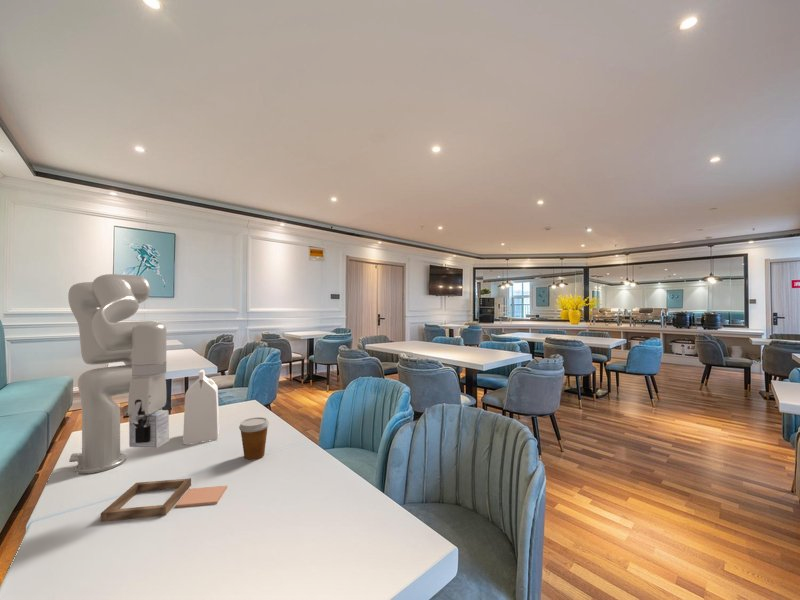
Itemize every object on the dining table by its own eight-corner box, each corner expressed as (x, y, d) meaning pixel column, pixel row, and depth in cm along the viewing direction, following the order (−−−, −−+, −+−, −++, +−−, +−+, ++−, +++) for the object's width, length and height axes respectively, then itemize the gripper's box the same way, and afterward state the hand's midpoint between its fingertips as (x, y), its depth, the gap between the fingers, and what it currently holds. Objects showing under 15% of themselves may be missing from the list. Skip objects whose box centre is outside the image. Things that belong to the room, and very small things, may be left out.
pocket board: (100, 521, 84) (100, 513, 84) (136, 489, 98) (136, 482, 98) (165, 515, 86) (165, 507, 86) (191, 485, 101) (191, 478, 101)
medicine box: (169, 441, 95) (169, 409, 95) (156, 448, 90) (156, 415, 90) (142, 440, 95) (142, 409, 95) (128, 447, 91) (128, 414, 91)
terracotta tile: (175, 507, 90) (175, 505, 90) (189, 490, 98) (189, 488, 98) (216, 503, 91) (216, 501, 91) (227, 487, 99) (227, 485, 99)
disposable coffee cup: (258, 463, 114) (258, 427, 114) (232, 461, 116) (232, 425, 116) (274, 451, 123) (274, 417, 123) (250, 449, 125) (250, 416, 125)
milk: (187, 434, 140) (186, 369, 140) (219, 429, 145) (219, 367, 145) (182, 445, 129) (182, 375, 129) (217, 439, 134) (217, 372, 134)
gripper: (151, 364, 101) (151, 427, 101) (112, 377, 84) (112, 452, 84) (179, 363, 102) (179, 425, 102) (146, 376, 85) (146, 450, 85)
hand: (149, 436), depth 93 cm, fingers closed on medicine box, 5 cm apart
